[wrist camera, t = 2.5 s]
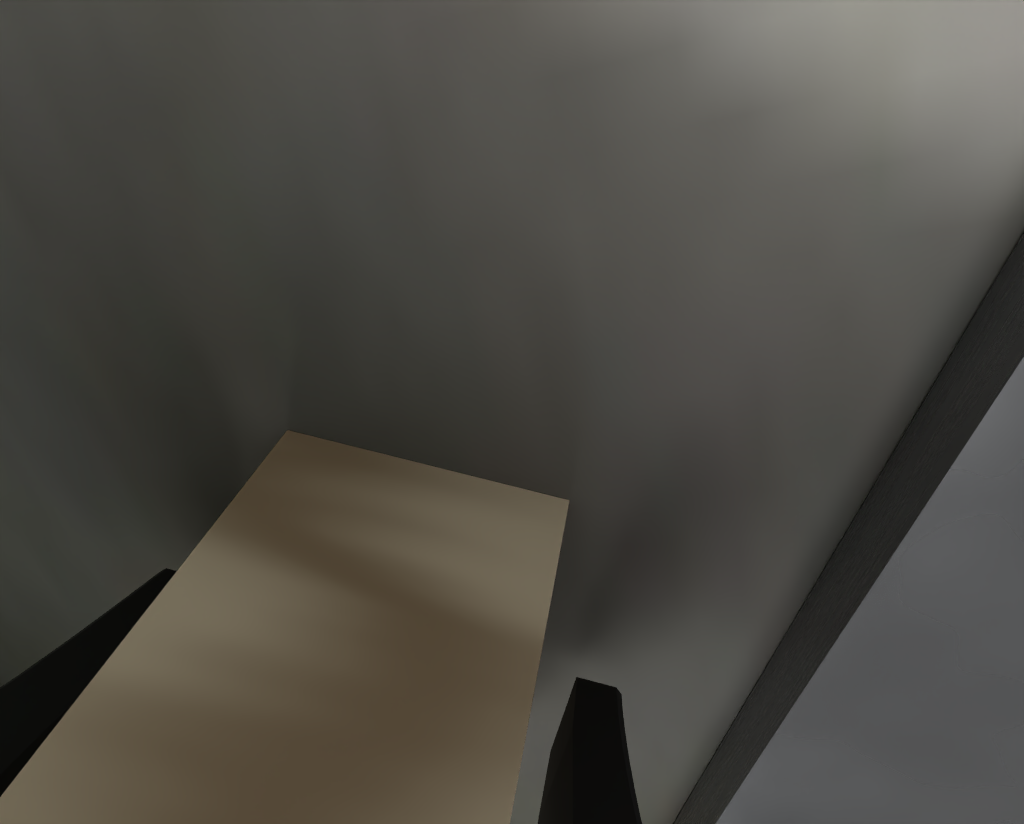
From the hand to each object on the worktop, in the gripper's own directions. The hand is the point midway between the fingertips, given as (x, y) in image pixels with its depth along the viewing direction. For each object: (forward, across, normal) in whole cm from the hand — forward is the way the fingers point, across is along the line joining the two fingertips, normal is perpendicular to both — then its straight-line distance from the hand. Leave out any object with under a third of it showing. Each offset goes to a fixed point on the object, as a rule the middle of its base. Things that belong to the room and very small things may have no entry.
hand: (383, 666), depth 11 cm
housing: (+2, 0, 0) cm, 2 cm away
